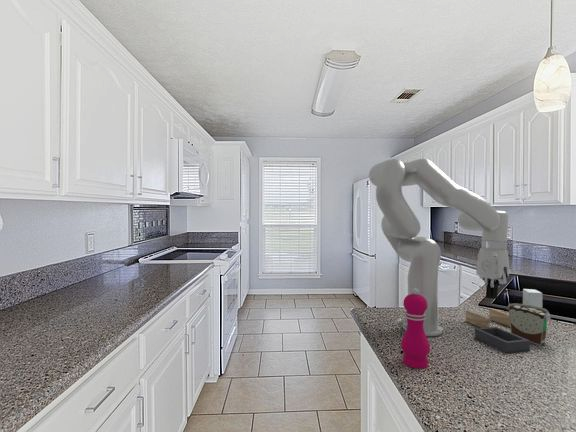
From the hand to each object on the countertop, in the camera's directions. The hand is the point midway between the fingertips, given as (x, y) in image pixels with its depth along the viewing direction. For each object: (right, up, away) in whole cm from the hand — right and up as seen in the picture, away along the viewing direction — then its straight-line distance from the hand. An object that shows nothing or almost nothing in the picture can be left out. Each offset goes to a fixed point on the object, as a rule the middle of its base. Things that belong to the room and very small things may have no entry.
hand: (491, 297), depth 118 cm
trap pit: (-7, -10, -16) cm, 20 cm away
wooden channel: (+1, -10, +2) cm, 10 cm away
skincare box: (+16, -10, +2) cm, 19 cm away
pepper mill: (-38, -11, -29) cm, 48 cm away
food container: (+6, -10, -12) cm, 17 cm away
